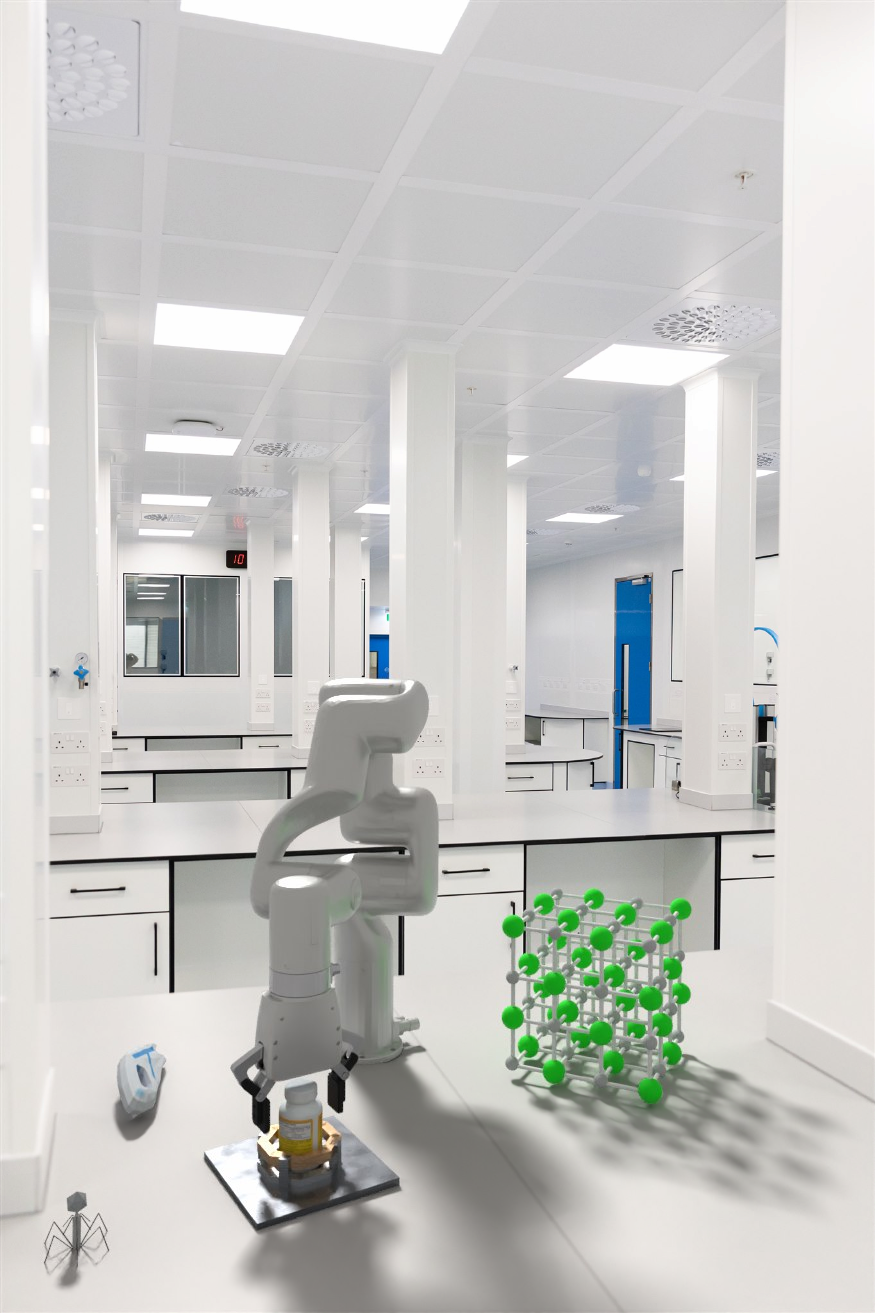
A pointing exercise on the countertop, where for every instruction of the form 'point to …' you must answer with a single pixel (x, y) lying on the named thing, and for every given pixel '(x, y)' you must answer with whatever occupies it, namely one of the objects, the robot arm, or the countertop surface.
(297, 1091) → the supplement bottle
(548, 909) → the molecular structure model
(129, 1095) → the spaceship
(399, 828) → the robot arm
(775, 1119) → the countertop surface
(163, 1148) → the countertop surface
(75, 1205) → the bacteriophage
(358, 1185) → the collar base
